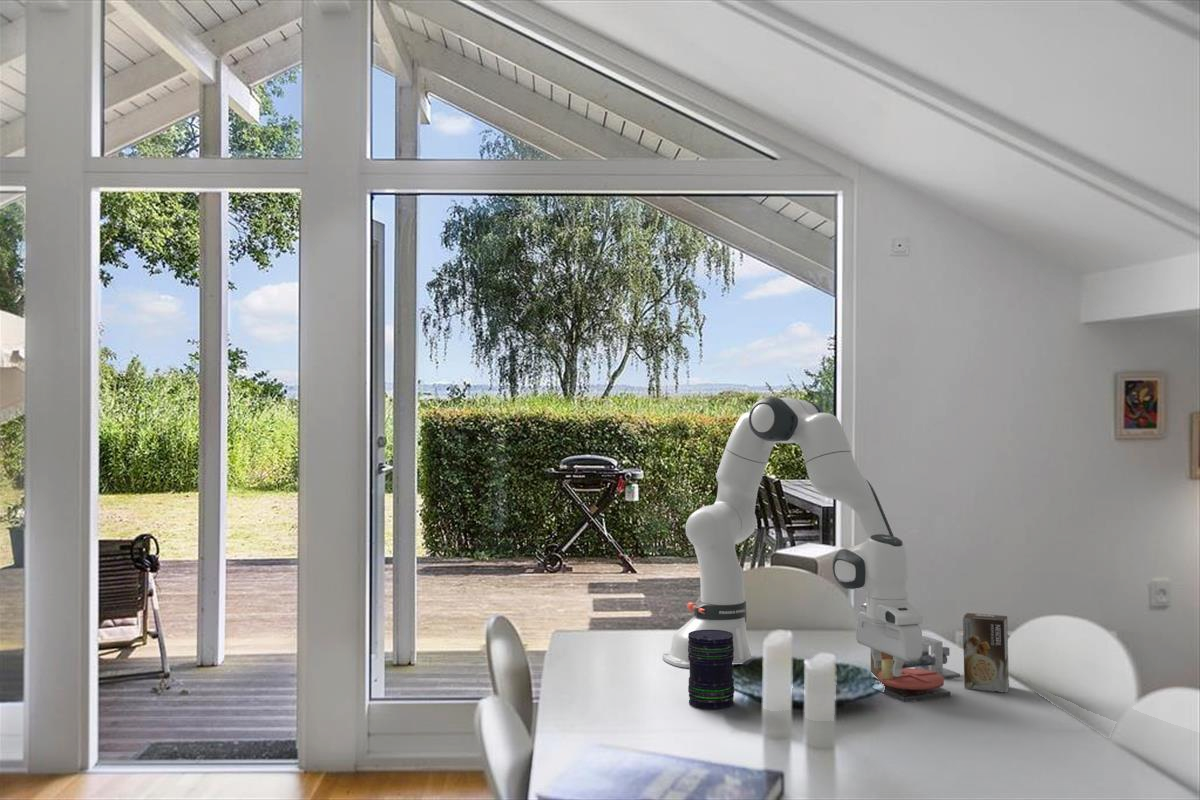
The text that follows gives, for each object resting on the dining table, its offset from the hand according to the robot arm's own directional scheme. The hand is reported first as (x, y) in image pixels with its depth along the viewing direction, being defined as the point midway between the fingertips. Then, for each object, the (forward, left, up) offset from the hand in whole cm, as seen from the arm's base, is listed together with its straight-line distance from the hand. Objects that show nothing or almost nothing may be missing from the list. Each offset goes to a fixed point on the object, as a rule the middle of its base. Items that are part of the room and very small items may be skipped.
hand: (887, 672), depth 240 cm
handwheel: (+6, 0, -3) cm, 7 cm away
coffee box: (+24, -3, -5) cm, 25 cm away
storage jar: (-39, +8, -5) cm, 40 cm away
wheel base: (+6, 0, -5) cm, 8 cm away
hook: (+15, +12, -5) cm, 20 cm away
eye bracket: (+22, +12, -5) cm, 26 cm away
